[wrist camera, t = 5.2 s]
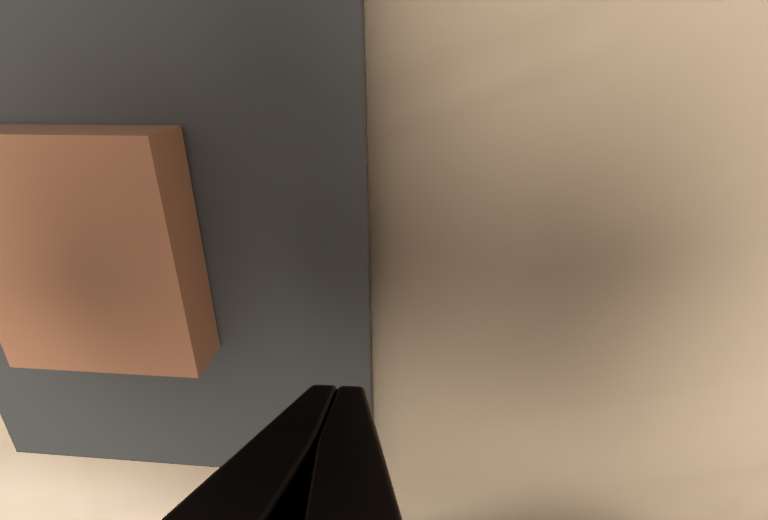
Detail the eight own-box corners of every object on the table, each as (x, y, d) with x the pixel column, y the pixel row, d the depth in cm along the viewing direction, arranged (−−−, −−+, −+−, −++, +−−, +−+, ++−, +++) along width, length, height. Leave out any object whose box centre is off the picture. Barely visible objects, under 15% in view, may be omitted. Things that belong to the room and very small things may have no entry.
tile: (198, 378, 14) (10, 367, 15) (221, 345, 16) (50, 337, 16) (147, 135, 11) (-85, 133, 12) (182, 124, 13) (-26, 123, 13)
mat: (374, 465, 18) (372, 478, 17) (29, 440, 19) (16, 451, 19) (363, -30, 11) (359, -34, 11) (-163, -18, 13) (-190, -21, 12)
